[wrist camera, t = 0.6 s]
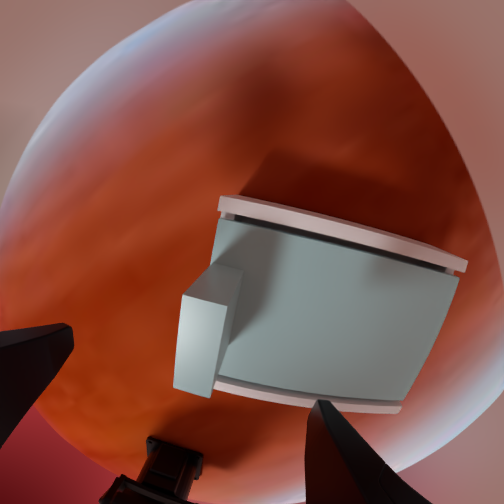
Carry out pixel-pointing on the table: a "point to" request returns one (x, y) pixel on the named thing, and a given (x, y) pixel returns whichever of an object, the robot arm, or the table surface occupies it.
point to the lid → (308, 316)
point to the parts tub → (338, 234)
